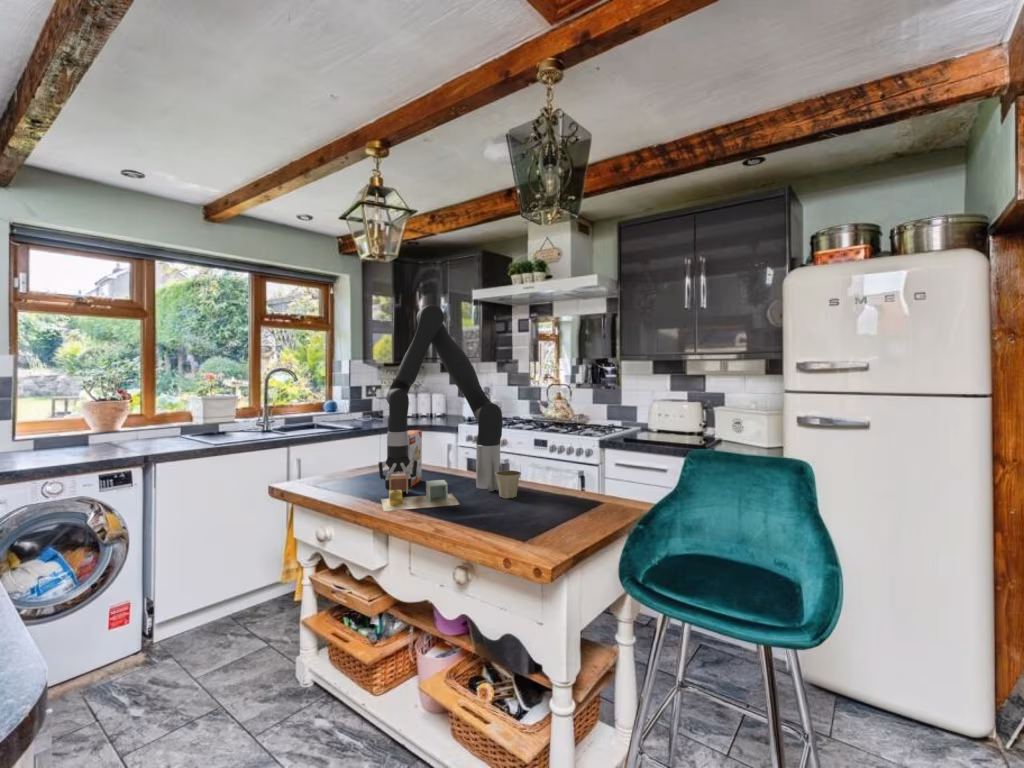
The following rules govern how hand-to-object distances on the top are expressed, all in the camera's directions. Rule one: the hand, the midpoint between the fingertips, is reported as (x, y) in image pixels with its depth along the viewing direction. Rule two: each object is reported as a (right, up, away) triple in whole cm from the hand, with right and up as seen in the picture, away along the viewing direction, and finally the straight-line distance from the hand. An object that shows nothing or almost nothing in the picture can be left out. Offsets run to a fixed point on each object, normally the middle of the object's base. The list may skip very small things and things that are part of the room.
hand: (398, 489), depth 187 cm
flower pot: (+40, -3, 0) cm, 40 cm away
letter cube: (+2, -2, -12) cm, 13 cm away
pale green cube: (+15, -2, -8) cm, 17 cm away
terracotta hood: (0, -1, 0) cm, 1 cm away
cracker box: (+1, -2, +18) cm, 18 cm away
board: (+10, -3, -10) cm, 15 cm away
